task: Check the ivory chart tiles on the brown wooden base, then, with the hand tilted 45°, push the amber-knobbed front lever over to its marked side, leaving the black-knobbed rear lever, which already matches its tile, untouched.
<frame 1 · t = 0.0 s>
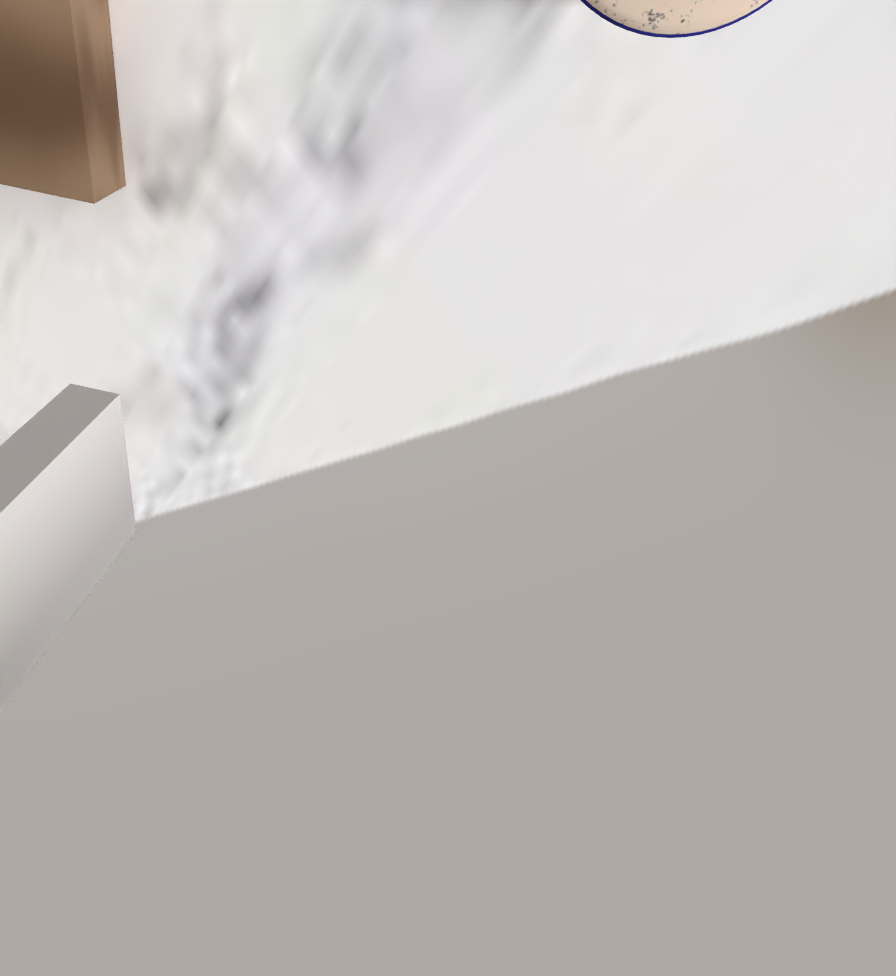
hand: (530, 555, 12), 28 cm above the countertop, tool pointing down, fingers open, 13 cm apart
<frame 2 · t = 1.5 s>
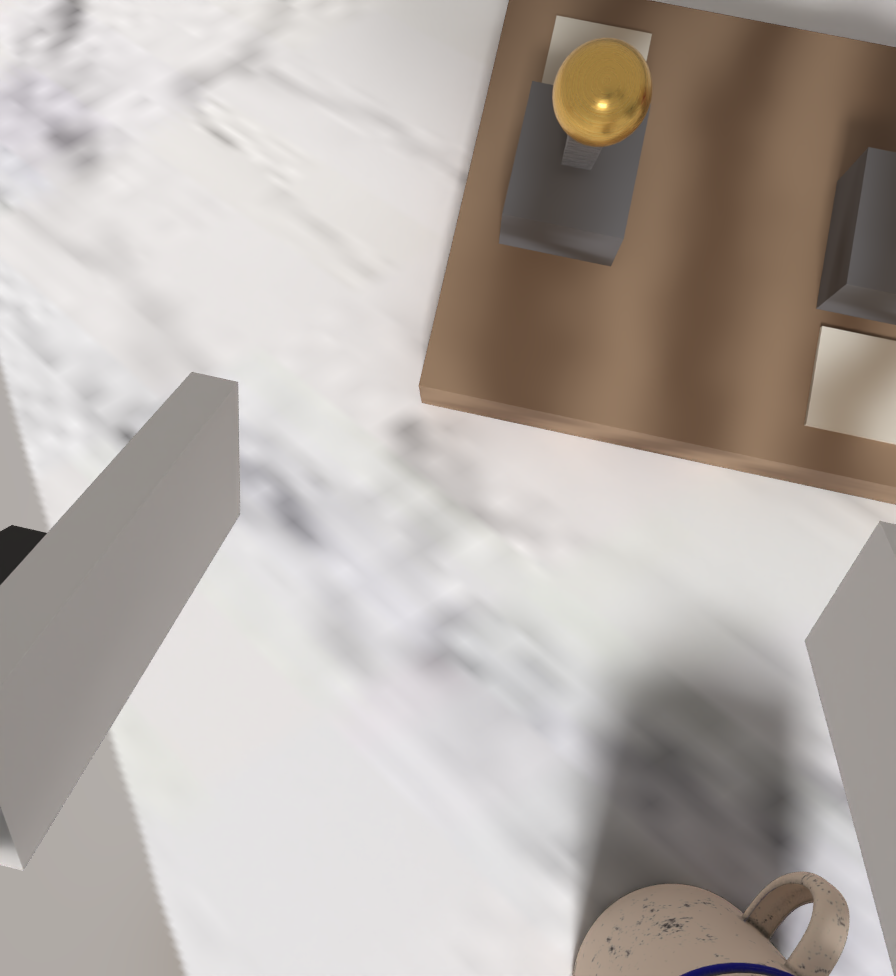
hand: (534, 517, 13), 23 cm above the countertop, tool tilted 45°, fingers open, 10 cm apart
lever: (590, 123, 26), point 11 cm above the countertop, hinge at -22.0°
teacup with lid: (691, 957, 34), on the countertop
brown wooden base: (703, 253, 38), on the countertop
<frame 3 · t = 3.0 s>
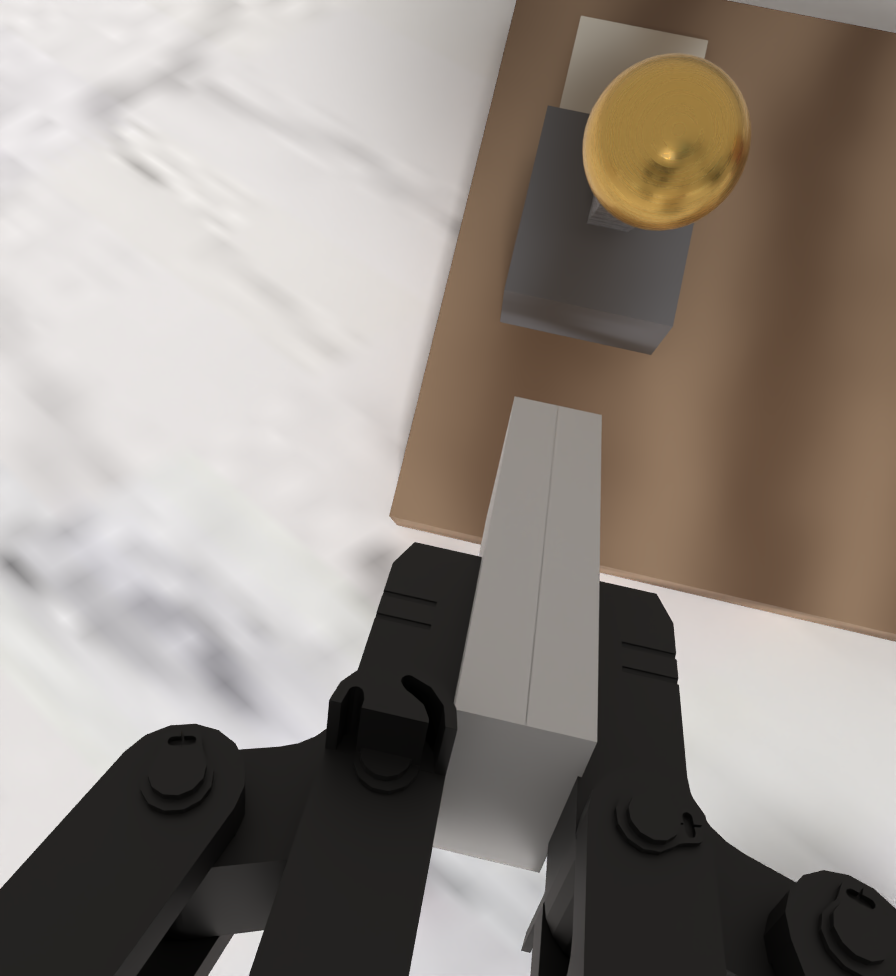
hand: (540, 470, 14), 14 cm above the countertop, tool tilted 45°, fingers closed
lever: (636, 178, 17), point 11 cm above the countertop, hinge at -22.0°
brown wooden base: (770, 329, 29), on the countertop
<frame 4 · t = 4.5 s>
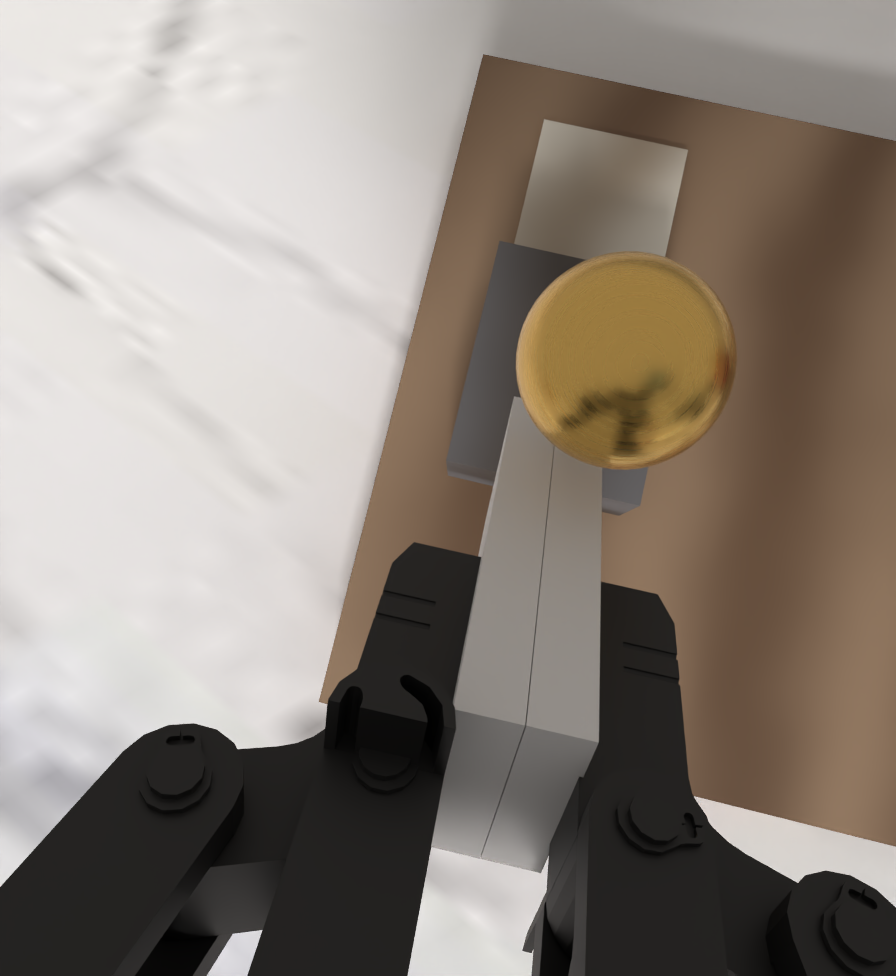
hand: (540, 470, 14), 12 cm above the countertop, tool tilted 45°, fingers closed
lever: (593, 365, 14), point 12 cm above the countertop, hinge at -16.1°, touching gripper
brown wooden base: (756, 466, 26), on the countertop
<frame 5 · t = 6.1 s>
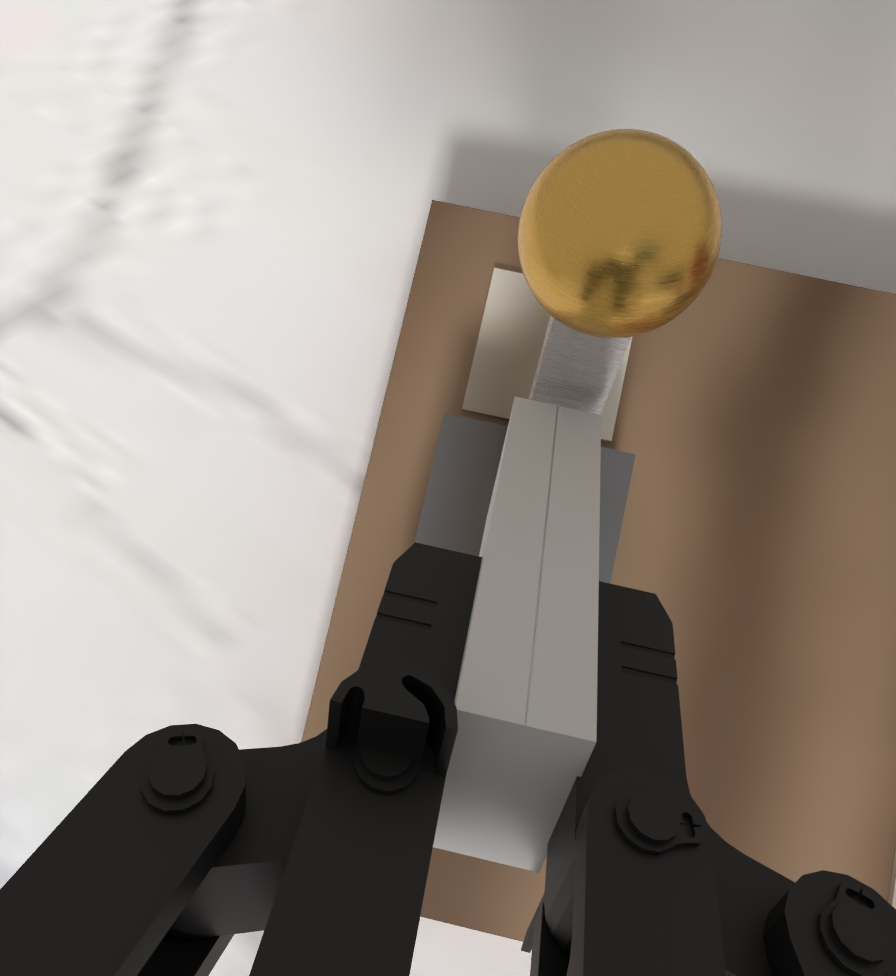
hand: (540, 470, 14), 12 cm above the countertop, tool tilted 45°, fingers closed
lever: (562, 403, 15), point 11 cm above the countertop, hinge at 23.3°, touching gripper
brown wooden base: (718, 607, 25), on the countertop
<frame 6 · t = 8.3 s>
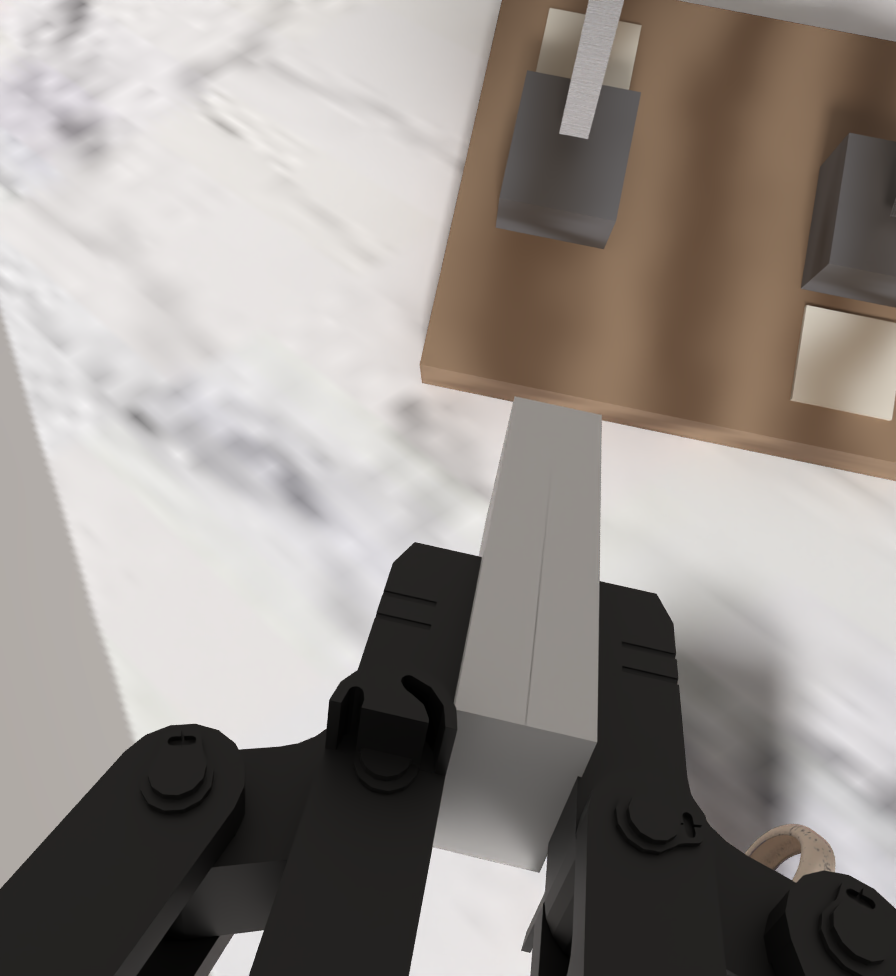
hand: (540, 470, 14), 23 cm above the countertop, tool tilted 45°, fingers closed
teacup with lid: (686, 912, 35), on the countertop
brown wooden base: (692, 237, 39), on the countertop
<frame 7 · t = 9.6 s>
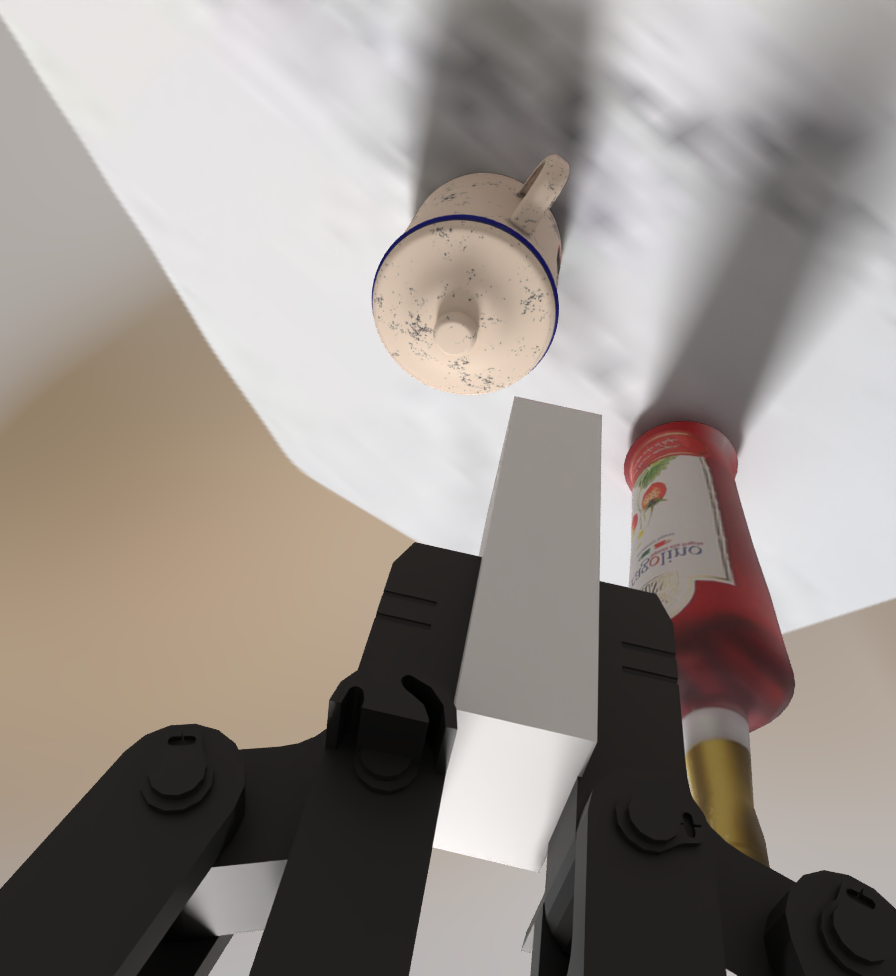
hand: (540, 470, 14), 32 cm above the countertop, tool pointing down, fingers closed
teacup with lid: (500, 227, 44), on the countertop
liquor: (678, 455, 51), on the countertop
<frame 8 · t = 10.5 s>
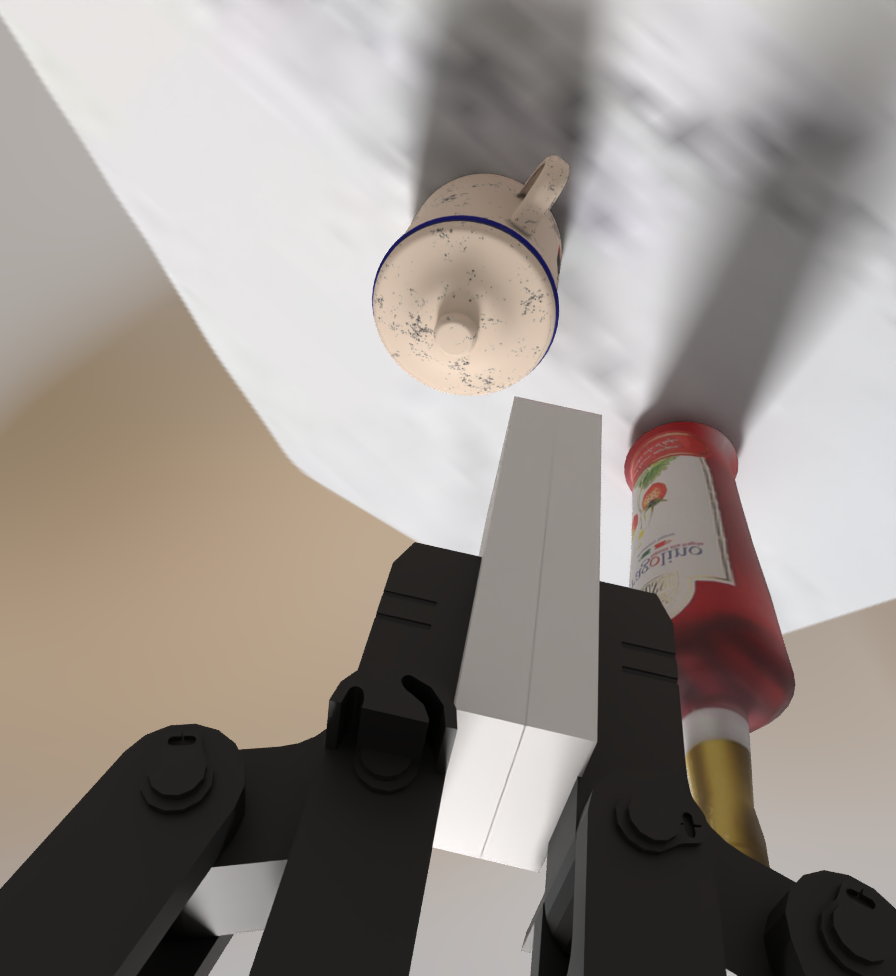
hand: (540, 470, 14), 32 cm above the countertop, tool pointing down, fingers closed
teacup with lid: (500, 228, 44), on the countertop
liquor: (678, 455, 51), on the countertop
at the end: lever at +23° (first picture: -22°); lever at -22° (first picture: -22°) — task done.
